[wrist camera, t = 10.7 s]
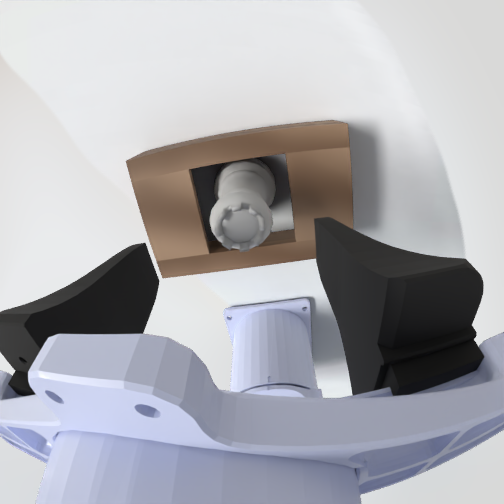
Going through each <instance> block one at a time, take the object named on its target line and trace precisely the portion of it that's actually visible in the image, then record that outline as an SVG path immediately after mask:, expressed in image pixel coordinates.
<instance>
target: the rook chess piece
mask: <svg viewBox="0 0 504 504" xmlns="http://www.w3.org/2000/svg"><path fill="white" fill-rule="evenodd" d="M275 189H276V186H275V178H274V175H273V174H272V172H271V170H270V169H269V167H268V166H267V165H265V164H264V163H263V162H261V161H260V160H258V159H255V158H249V159H243V160H236V161H230V162H227V163H226V164H224V165H223V166H222V168H221V169H220V170H219V172H218V173H217V175H216V180H215V184H214V193H215V198H216V201H217V203H216V204H215V205H214V207H213V208H212V210H211V215H210V220H209V221H210V225H211V229H212V232H213V234H214V235H215V236H216V238H217V239H218V241H220V242H221V243H222V245H223V246H224V247H226V248H227V249H229V250H230V249H231V248H235V249H239V250H240V252H246V251H249V249H250V248H253V247H255V246H259V244H261V243H263V241H264V240H265V239H266V238H267V237H268V235H269V234H270V231H271V228H272V225H273V220H272V212H271V210H270V209H269V206H270V205H271V204H272V202H273V199H274V196H275V192H276V190H275Z"/></svg>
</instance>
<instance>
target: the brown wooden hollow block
mask: <svg viewBox="0 0 504 504" xmlns="http://www.w3.org/2000/svg"><path fill="white" fill-rule="evenodd" d="M277 154H285V155H286V162H287V170H288V178H289V186H290V194H291V203H292V212H293V221H294V229H292V230H285V231H278V232H270V234H269V235H268V237H267V238H266V239H265V240H264V241H263V243H261V244H259V246H255V247H253V248H250V249H249V251H246V252H240V250H239V249H235V248H231V249H230V250H229V249H227V248H226V247H224V246H223V245H222V243H221V242H220V241H218V240H214V241H208V239H207V235H206V231H205V227H204V223H203V219H202V215H201V210H200V206H199V202H198V198H197V194H196V189H195V185H194V181H193V176H192V172H191V169H193V168H198V167H203V166H208V165H213V164H219V163H225V162H230V161H236V160H243V159H249V158H256V157H262V156H270V155H277ZM126 163H127V167H128V171H129V175H130V178H131V182H132V186H133V189H134V193H135V196H136V199H137V203H138V206H139V209H140V213H141V216H142V219H143V222H144V226H145V228H146V231H147V235H148V237H149V241H150V244H151V247H152V249H153V253H154V255H155V258H156V261H157V264H158V267H159V270H160V272H161V275H162V278H168V277H177V276H186V275H194V274H202V273H210V272H218V271H226V270H233V269H241V268H249V267H256V266H264V265H272V264H279V263H286V262H294V261H301V260H308V259H315V258H316V242H315V225H314V218H323V217H331V218H333V219H335V220H337V221H339V222H340V223H342V224H344V225H346V226H348V227H349V228H351V229H353V197H352V174H351V157H350V144H349V132H348V124H347V123H343V122H339V121H334V120H328V121H315V122H304V123H294V124H285V125H277V126H269V127H262V128H255V129H248V130H242V131H236V132H230V133H224V134H219V135H214V136H209V137H204V138H199V139H194V140H190V141H185V142H181V143H176V144H172V145H168V146H164V147H160V148H156V149H152V150H149V151H145V152H143V153H141V154H139V155H137V156H135V157H133V158H131V159H129V160H127V161H126Z"/></svg>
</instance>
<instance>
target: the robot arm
mask: <svg viewBox="0 0 504 504" xmlns="http://www.w3.org/2000/svg"><path fill="white" fill-rule="evenodd" d="M314 225H315V242H316V262H317V266H318V270H319V274H320V278H321V282H322V284H323V287H324V289H325V292H326V294H327V297H328V299H329V302H330V304H331V307H332V310H333V312H334V315H335V317H336V320H337V323H338V326H339V329H340V333H341V338H342V342H343V346H344V351H345V355H346V360H347V365H348V370H349V376H350V381H351V387H352V394H353V396H348V397H342V398H323V397H322V391H321V389H318V387H317V381H316V376H315V370H314V364H313V359H312V339H311V313H310V302H309V300H308V299H307V298H302V299H295V300H288V301H280V302H273V303H265V304H256V305H248V306H239V307H230V308H225V309H224V311H223V315H224V318H225V322H226V325H227V329H228V332H229V335H230V339H231V342H232V345H233V356H232V370H231V384H230V391H226V390H219V389H218V388H217V386H216V385H215V384H214V382H213V380H212V378H211V375H210V373H209V371H208V369H207V367H206V365H205V364H204V363H203V362H202V361H201V360H200V358H199V357H198V356H197V355H196V354H195V353H194V352H193V350H191V349H190V348H188V347H186V346H184V345H182V344H180V343H178V342H176V341H174V340H172V339H170V338H168V337H162V336H155V335H149V334H143V332H144V329H145V327H146V324H147V321H148V319H149V316H150V313H151V311H152V308H153V305H154V302H155V299H156V295H157V291H158V286H159V279H158V276H157V274H156V271H155V268H154V266H153V263H152V260H151V257H150V255H149V252H148V249H147V246H146V244H145V243H141V244H135V245H132V246H130V247H128V248H126V249H124V250H122V251H121V252H119V253H117V254H116V255H115V256H113V257H112V258H110V259H109V260H107V261H106V262H104V263H103V264H101V265H100V266H98V267H97V268H95V269H94V270H92V271H91V272H89V273H88V274H87V275H85V276H83V277H82V278H80V279H78V280H77V281H75V282H73V283H72V284H70V285H68V286H66V287H64V288H62V289H60V290H58V291H56V292H54V293H52V294H50V295H48V296H46V297H43V298H41V299H38V300H36V301H33V302H30V303H28V304H25V305H22V306H18V307H15V308H11V309H8V310H4V311H2V312H0V352H1V353H2V355H3V356H4V357H5V358H6V360H7V361H8V362H9V364H10V365H11V366H12V367H13V368H14V369H15V370H16V371H15V373H14V374H13V376H12V375H10V374H9V373H7V372H4V371H1V370H0V437H2V438H3V439H4V440H5V441H7V442H8V443H9V444H10V445H12V446H14V447H16V448H18V449H20V450H21V451H23V452H25V453H27V454H29V455H31V456H33V457H35V458H37V459H39V460H41V461H43V462H45V463H47V465H46V468H45V471H44V475H43V478H42V481H41V485H40V488H39V492H38V495H37V499H36V503H35V504H361V498H360V495H361V494H365V493H368V492H371V491H375V490H378V489H381V488H384V487H387V486H390V485H393V484H395V483H398V482H401V481H403V480H406V479H408V478H411V477H414V476H416V475H418V474H421V473H423V472H425V471H428V470H430V469H432V468H434V467H437V466H439V465H441V464H443V463H445V462H447V461H449V460H450V459H453V458H455V457H457V456H459V455H461V454H462V453H464V452H466V451H468V450H470V449H472V448H473V447H475V446H477V445H479V444H480V443H482V442H484V441H486V440H488V439H489V438H491V437H493V436H494V435H496V434H498V433H499V432H501V431H502V430H504V332H503V333H501V334H498V335H496V336H494V337H491V338H489V339H487V340H485V341H483V343H482V344H480V345H479V347H478V345H477V344H476V342H475V341H474V338H475V337H476V331H475V329H474V328H473V327H472V323H473V320H474V318H475V315H476V313H477V310H478V307H479V305H480V302H481V298H482V295H483V280H482V277H481V275H480V274H479V273H478V271H477V270H476V269H475V268H474V267H473V266H472V265H471V264H470V263H469V262H468V261H467V260H466V259H462V258H447V257H437V256H430V255H424V254H419V253H414V252H410V251H406V250H402V249H399V248H395V247H392V246H389V245H387V244H384V243H381V242H378V241H376V240H374V239H372V238H369V237H367V236H365V235H363V234H361V233H359V232H357V231H355V230H353V229H351V228H349V227H348V226H346V225H344V224H342V223H340V222H339V221H337V220H335V219H333V218H331V217H323V218H314ZM303 307H306V308H303ZM228 316H231V318H230V317H228Z"/></svg>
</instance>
